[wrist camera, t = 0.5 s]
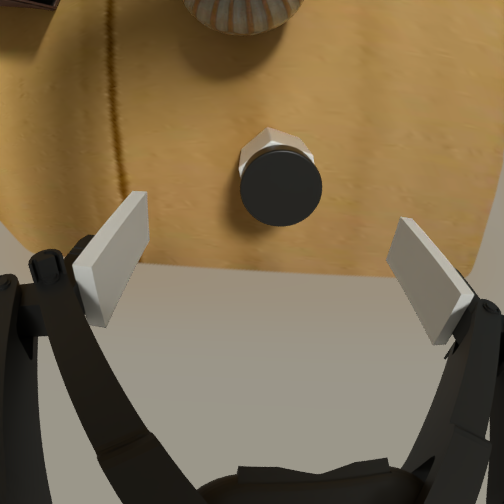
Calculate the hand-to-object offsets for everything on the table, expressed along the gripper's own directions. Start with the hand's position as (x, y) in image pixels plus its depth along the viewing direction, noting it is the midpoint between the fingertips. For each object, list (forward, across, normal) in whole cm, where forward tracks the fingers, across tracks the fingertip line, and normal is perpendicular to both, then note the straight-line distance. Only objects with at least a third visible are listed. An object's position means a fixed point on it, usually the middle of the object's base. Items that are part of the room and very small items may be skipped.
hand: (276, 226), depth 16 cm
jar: (+27, +2, -4) cm, 28 cm away
